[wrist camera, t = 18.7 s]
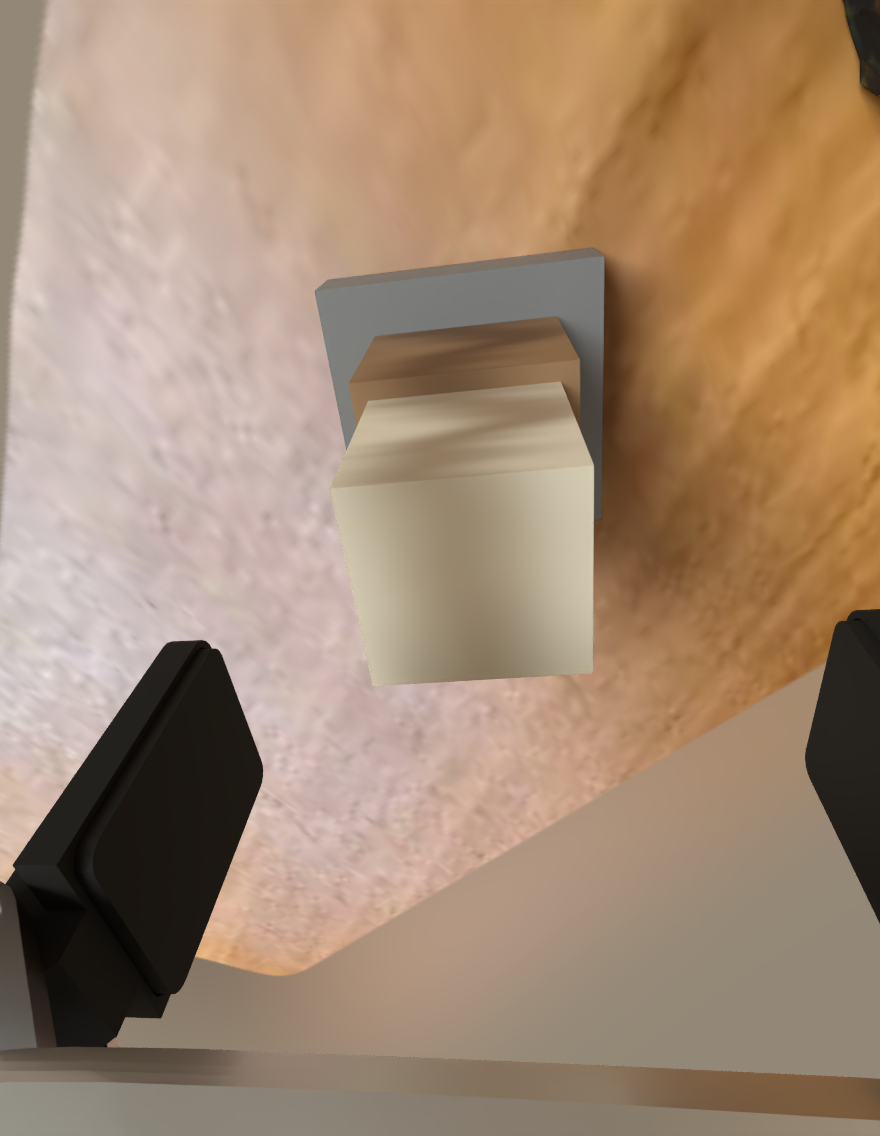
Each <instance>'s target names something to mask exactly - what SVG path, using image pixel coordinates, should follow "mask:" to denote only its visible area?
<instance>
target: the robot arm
mask: <svg viewBox="0 0 880 1136" xmlns="http://www.w3.org/2000/svg"><path fill="white" fill-rule="evenodd" d="M805 761H806V768H807V772H808V775H809V778H810V780H811V782H812V784H813V786H814V788H815V790H816V792H817V794H818V796H819V799H820V801H821V803H822V805H823V807H824V809H825V811H826V813H827V815H828V817H829V819H830V821H831V823H832V825H833V828H834V829H835V832H836V834H837V836H838V838H839V840H840V842H841V844H842V846H843V848H844V850H845V852H846V854H847V856H848V859H849V861H850V863H851V865H852V867H853V869H854V871H855V873H856V875H857V877H858V879H859V881H860V883H861V885H862V888H863V890H864V892H865V894H866V895H867V898H868V900H869V902H870V904H871V906H872V908H873V910H874V912H875V914H876V917H877V919H878V921H879V923H880V609H874V610H856V611H853V612H852V613H851V614H850V615H849V616H848V619H847V621H840V622H838V623H837V624H836V626H835V629H834V633H833V637H832V641H831V646H830V650H829V654H828V658H827V663H826V667H825V671H824V675H823V680H822V684H821V688H820V693H819V697H818V701H817V706H816V710H815V714H814V718H813V722H812V727H811V731H810V735H809V739H808V743H807V748H806V753H805ZM262 778H263V765H262V761H261V758H260V756H259V753H258V750H257V748H256V745H255V742H254V740H253V737H252V734H251V732H250V729H249V726H248V724H247V721H246V718H245V716H244V713H243V710H242V708H241V705H240V702H239V700H238V697H237V694H236V692H235V689H234V686H233V684H232V681H231V678H230V676H229V673H228V670H227V668H226V665H225V662H224V660H223V657H222V655H221V653H220V651H219V650H218V649H212V648H211V646H210V644H209V643H207V642H206V641H203V640H196V641H174V642H169V643H167V644H166V645H165V646H164V647H163V648H162V650H161V651H160V653H159V654H158V656H157V657H156V658H155V660H154V661H153V663H152V664H151V666H150V667H149V669H148V670H147V671H146V673H145V674H144V676H143V677H142V679H141V680H140V682H139V683H138V684H137V686H136V687H135V689H134V690H133V692H132V693H131V695H130V696H129V697H128V699H127V700H126V702H125V703H124V705H123V706H122V708H121V709H120V710H119V712H118V713H117V715H116V716H115V718H114V719H113V721H112V722H111V723H110V725H109V726H108V728H107V729H106V731H105V732H104V734H103V735H102V736H101V738H100V739H99V741H98V742H97V744H96V745H95V747H94V748H93V750H92V751H91V752H90V754H89V755H88V757H87V758H86V760H85V761H84V763H83V764H82V765H81V767H80V768H79V770H78V771H77V773H76V774H75V776H74V777H73V778H72V780H71V781H70V783H69V784H68V786H67V787H66V789H65V790H64V791H63V793H62V794H61V796H60V797H59V799H58V800H57V802H56V803H55V804H54V806H53V807H52V809H51V810H50V812H49V813H48V815H47V816H46V817H45V819H44V820H43V822H42V823H41V825H40V826H39V828H38V829H37V830H36V832H35V833H34V835H33V836H32V838H31V839H30V841H29V842H28V843H27V845H26V846H25V848H24V849H23V851H22V852H21V854H20V855H19V856H18V858H17V859H16V861H15V862H14V864H13V867H14V868H15V871H14V872H13V874H12V875H11V877H10V878H9V880H8V881H7V883H6V884H4V883H3V882H1V881H0V1136H880V1079H872V1078H857V1077H836V1076H816V1075H795V1074H774V1073H753V1072H732V1071H710V1070H690V1069H670V1068H669V1069H668V1068H649V1067H626V1066H605V1065H581V1064H558V1063H536V1062H512V1061H490V1060H465V1059H442V1058H418V1057H417V1058H415V1057H393V1056H370V1055H369V1056H368V1055H343V1054H315V1053H288V1052H262V1051H236V1050H235V1051H234V1050H209V1049H177V1048H119V1046H118V1042H117V1038H116V1037H117V1035H118V1032H119V1030H120V1028H121V1026H122V1023H123V1021H124V1019H125V1017H136V1018H161V1017H162V1015H163V1012H164V1010H165V1007H166V1005H167V1002H168V1000H169V997H170V995H171V994H176V993H177V992H178V991H179V990H180V989H181V988H182V986H183V984H184V982H185V980H186V978H187V975H188V973H189V970H190V968H191V965H192V962H193V960H194V957H195V955H196V952H197V949H198V947H199V944H200V942H201V939H202V937H203V934H204V931H205V929H206V926H207V924H208V921H209V918H210V916H211V913H212V911H213V908H214V906H215V903H216V900H217V898H218V895H219V893H220V890H221V887H222V885H223V882H224V880H225V877H226V875H227V872H228V869H229V867H230V864H231V862H232V859H233V856H234V854H235V851H236V849H237V846H238V844H239V841H240V838H241V836H242V833H243V831H244V828H245V825H246V823H247V820H248V818H249V815H250V813H251V810H252V807H253V805H254V802H255V800H256V797H257V794H258V792H259V789H260V787H261V783H262Z"/></svg>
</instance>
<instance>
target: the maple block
mask: <svg viewBox="0 0 880 1136" xmlns="http://www.w3.org/2000/svg"><path fill="white" fill-rule="evenodd" d="M330 493H331V497H332V502H333V506H334V511H335V516H336V520H337V525H338V529H339V534H340V538H341V543H342V547H343V552H344V557H345V561H346V566H347V570H348V575H349V579H350V584H351V589H352V593H353V598H354V602H355V607H356V611H357V616H358V620H359V625H360V630H361V634H362V639H363V643H364V648H365V652H366V657H367V662H368V666H369V671H370V675H371V680H372V684H373V686H383V685H400V684H417V683H434V682H452V681H469V680H486V679H503V678H520V677H537V676H554V675H571V674H588V673H593V551H594V464H593V462H592V459H591V456H590V454H589V451H588V449H587V446H586V444H585V441H584V439H583V436H582V434H581V431H580V429H579V426H578V423H577V421H576V418H575V416H574V413H573V411H572V408H571V406H570V403H569V401H568V398H567V396H566V393H565V390H564V388H563V385H562V383H561V382H552V383H542V384H532V385H522V386H512V387H502V388H493V389H483V390H473V391H463V392H453V393H443V394H433V395H423V396H413V397H403V398H393V399H383V400H373V401H368V402H367V405H366V407H365V409H364V412H363V414H362V416H361V418H360V421H359V423H358V425H357V428H356V430H355V432H354V434H353V437H352V439H351V441H350V443H349V446H348V448H347V450H346V453H345V455H344V457H343V459H342V462H341V464H340V466H339V469H338V471H337V473H336V475H335V478H334V480H333V482H332V485H331V487H330Z"/></svg>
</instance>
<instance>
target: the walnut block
mask: <svg viewBox="0 0 880 1136" xmlns="http://www.w3.org/2000/svg"><path fill="white" fill-rule="evenodd" d="M552 382H561V383H562V385H563V388H564V390H565V393H566V396H567V398H568V401H569V403H570V406H571V408H572V411H573V413H574V416H575V418H576V421H577V423H578V426H579V429H580V359H579V357H578V355H577V353H576V351H575V350H574V348H573V346H572V344H571V342H570V340H569V338H568V336H567V334H566V333H565V331H564V329H563V327H562V325H561V323H560V321H559V319H558V318H557V316H553V317H543V318H534V319H525V320H516V321H507V322H498V323H489V324H480V325H471V326H462V327H453V328H444V329H435V330H426V331H417V332H408V333H399V334H390V335H381V336H375V337H374V339H373V341H372V343H371V344H370V346H369V348H368V350H367V351H366V353H365V355H364V357H363V359H362V360H361V362H360V364H359V366H358V367H357V369H356V371H355V373H354V375H353V376H352V378H351V380H350V382H349V390H350V395H351V400H352V406H353V411H354V416H355V422H356V427H357V425H358V423H359V421H360V418H361V416H362V414H363V412H364V409H365V407H366V405H367V402H368V401H373V400H383V399H393V398H403V397H413V396H423V395H433V394H443V393H453V392H463V391H473V390H483V389H493V388H502V387H512V386H522V385H532V384H542V383H552Z"/></svg>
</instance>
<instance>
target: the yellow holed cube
mask: <svg viewBox="0 0 880 1136" xmlns="http://www.w3.org/2000/svg"><path fill="white" fill-rule="evenodd" d="M843 1H844V4H845V11H846V18H847V21H848V25H849V28H850V32H851V35H852V39H853V42H854V44H855V47H856V50H857V53H858V56H859V59H860V84H862V85H864V86H865V87H867V88H868V89H869V90H870V91H871V92H873V93H874V94H875V95H876V96H878V95H880V0H843Z"/></svg>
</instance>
